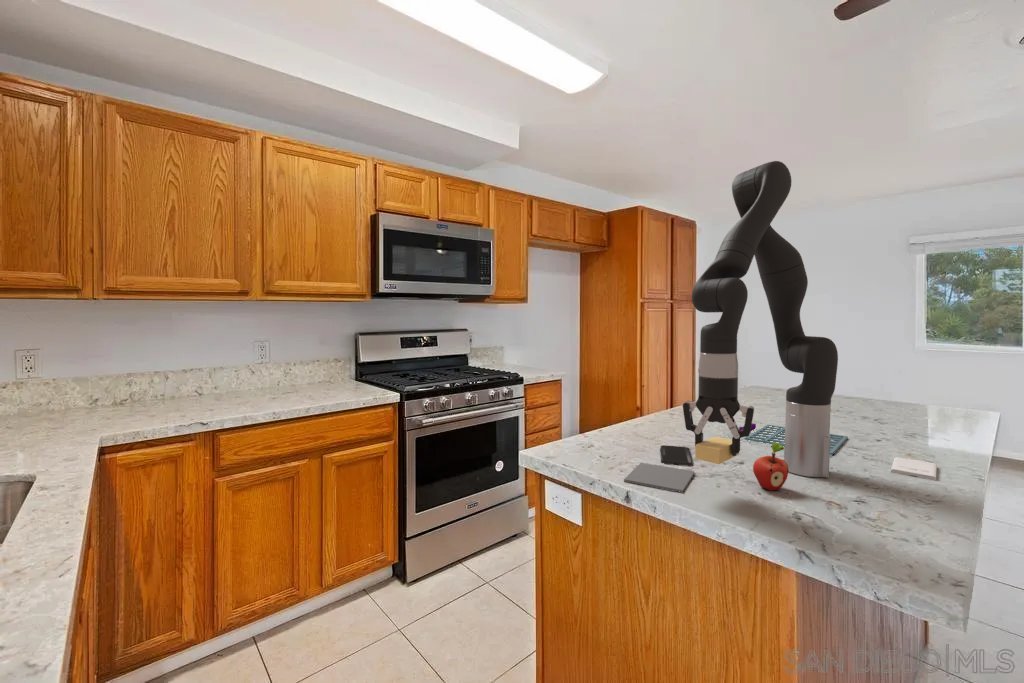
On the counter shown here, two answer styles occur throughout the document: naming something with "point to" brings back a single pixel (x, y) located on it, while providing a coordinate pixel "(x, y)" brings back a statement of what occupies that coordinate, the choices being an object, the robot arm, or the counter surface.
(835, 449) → the calendar
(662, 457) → the phone
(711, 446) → the card box
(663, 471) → the mat
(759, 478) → the apple
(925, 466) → the external hard drive
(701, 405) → the robot arm
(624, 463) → the counter surface
